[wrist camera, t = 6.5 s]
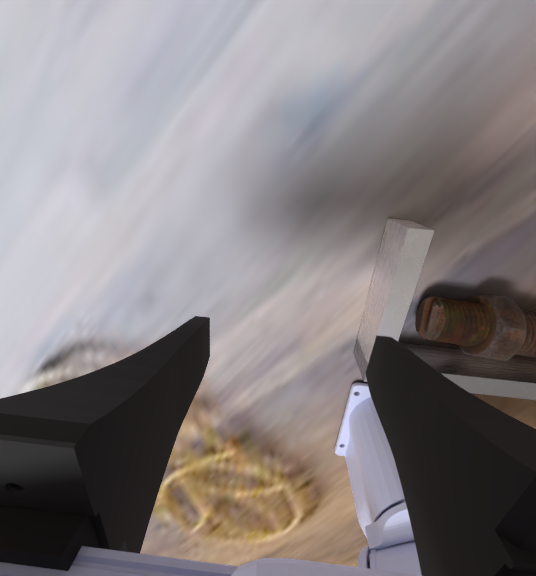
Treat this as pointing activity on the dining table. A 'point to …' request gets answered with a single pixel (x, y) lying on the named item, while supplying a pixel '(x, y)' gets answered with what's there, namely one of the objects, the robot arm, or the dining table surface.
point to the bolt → (479, 325)
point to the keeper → (394, 307)
